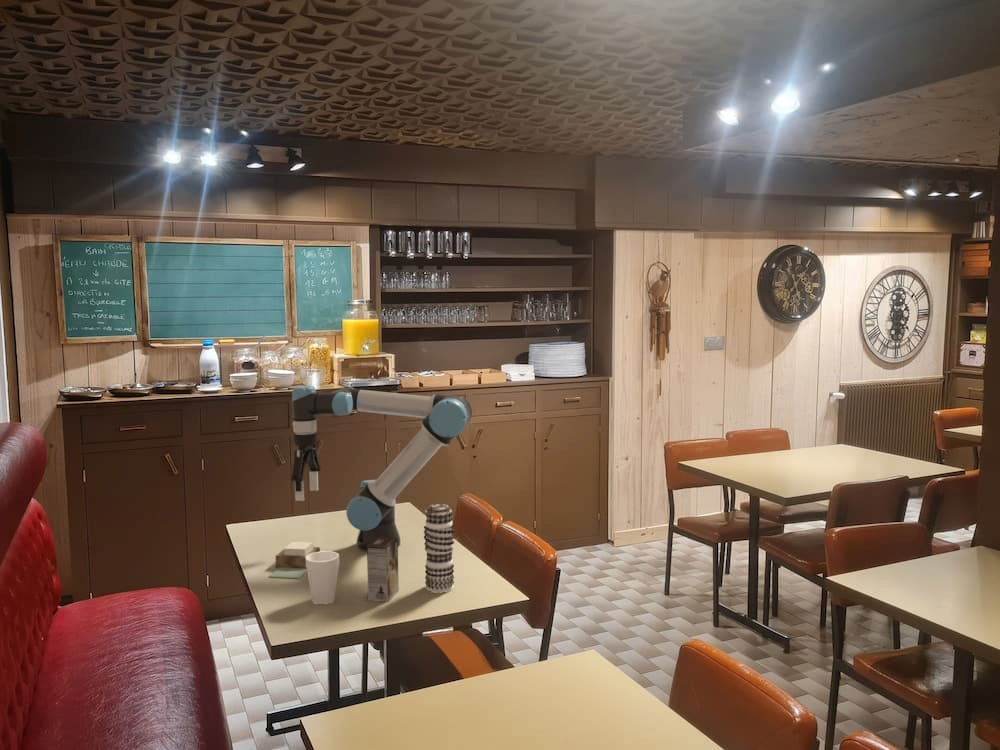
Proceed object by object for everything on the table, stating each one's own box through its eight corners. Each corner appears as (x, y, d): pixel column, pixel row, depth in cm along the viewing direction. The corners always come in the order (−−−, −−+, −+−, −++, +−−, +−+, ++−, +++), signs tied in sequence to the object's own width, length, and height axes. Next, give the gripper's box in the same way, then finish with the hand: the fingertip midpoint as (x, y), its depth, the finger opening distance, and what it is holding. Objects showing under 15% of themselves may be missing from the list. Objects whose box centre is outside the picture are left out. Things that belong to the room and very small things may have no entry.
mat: (309, 569, 245) (309, 568, 245) (299, 579, 237) (299, 577, 237) (279, 568, 247) (279, 567, 247) (268, 577, 239) (268, 576, 238)
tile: (313, 549, 253) (313, 542, 253) (305, 556, 247) (304, 549, 246) (292, 548, 254) (292, 541, 254) (284, 555, 247) (284, 548, 247)
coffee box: (378, 588, 229) (377, 536, 228) (399, 590, 228) (398, 537, 226) (367, 600, 220) (366, 546, 219) (388, 602, 219) (387, 547, 217)
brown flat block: (320, 559, 256) (319, 547, 255) (308, 569, 246) (308, 557, 245) (288, 557, 257) (288, 546, 257) (275, 567, 247) (275, 555, 247)
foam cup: (310, 609, 214) (309, 564, 213) (303, 598, 222) (301, 554, 221) (344, 603, 218) (343, 558, 217) (335, 592, 226) (334, 549, 225)
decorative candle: (455, 593, 226) (454, 509, 223) (423, 593, 225) (422, 510, 223) (455, 581, 235) (454, 501, 232) (424, 582, 234) (423, 502, 232)
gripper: (307, 426, 268) (309, 486, 270) (279, 439, 243) (282, 504, 245) (328, 426, 267) (330, 486, 269) (302, 439, 242) (304, 505, 244)
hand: (307, 495), depth 257 cm, fingers open, 13 cm apart
